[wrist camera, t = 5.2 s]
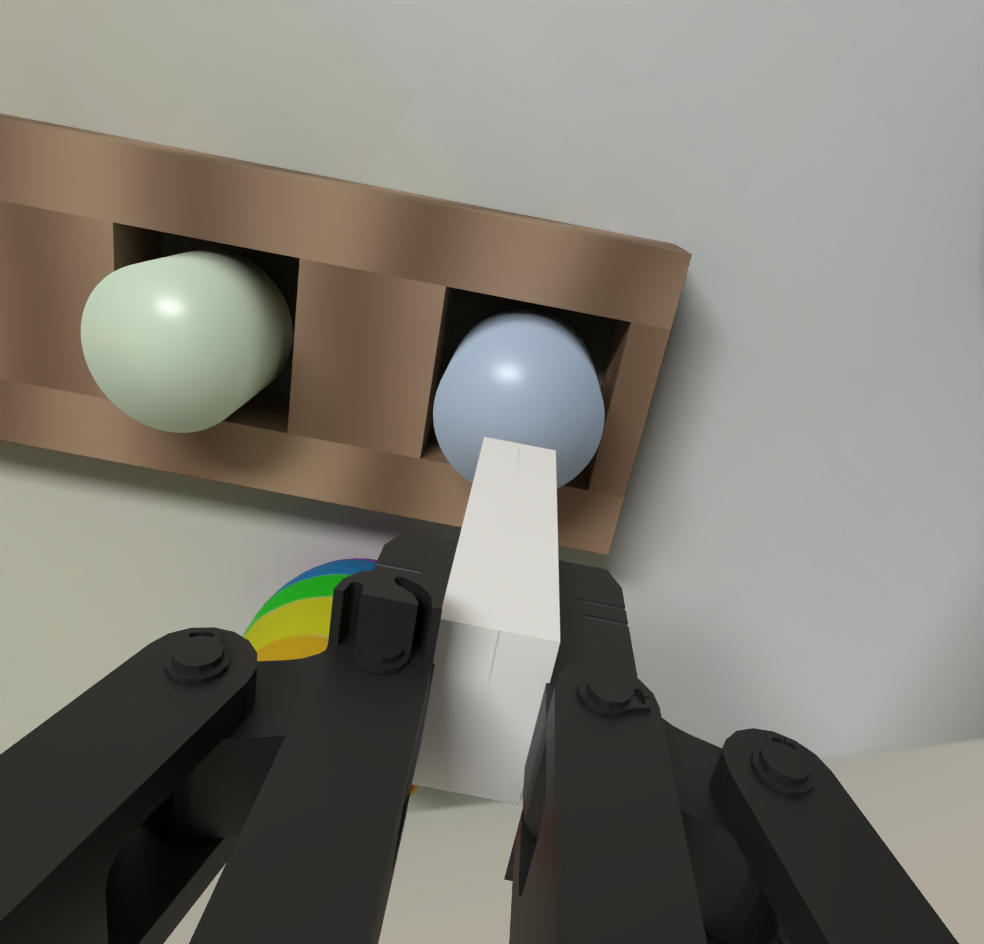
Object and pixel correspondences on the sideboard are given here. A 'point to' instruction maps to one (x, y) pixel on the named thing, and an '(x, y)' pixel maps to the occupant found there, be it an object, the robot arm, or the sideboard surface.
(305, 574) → the decorative egg
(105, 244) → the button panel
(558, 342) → the slate blue button
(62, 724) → the robot arm
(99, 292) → the sage button
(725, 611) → the sideboard surface
